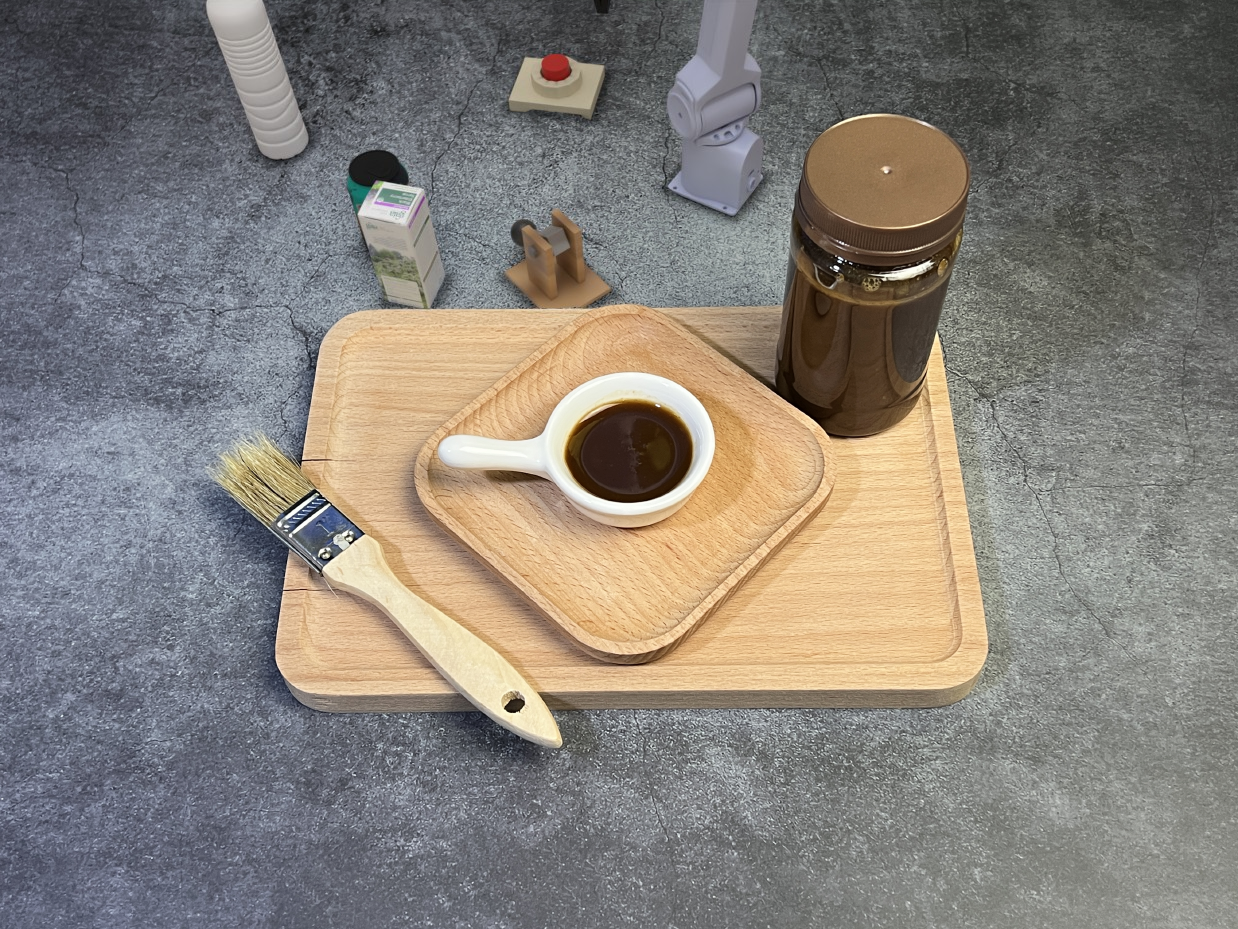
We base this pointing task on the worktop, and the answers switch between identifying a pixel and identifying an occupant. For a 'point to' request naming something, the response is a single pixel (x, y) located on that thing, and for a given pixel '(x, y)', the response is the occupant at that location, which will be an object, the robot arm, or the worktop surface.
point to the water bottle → (259, 75)
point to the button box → (557, 89)
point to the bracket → (556, 270)
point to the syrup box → (402, 243)
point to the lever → (550, 234)
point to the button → (555, 67)
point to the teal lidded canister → (373, 176)
